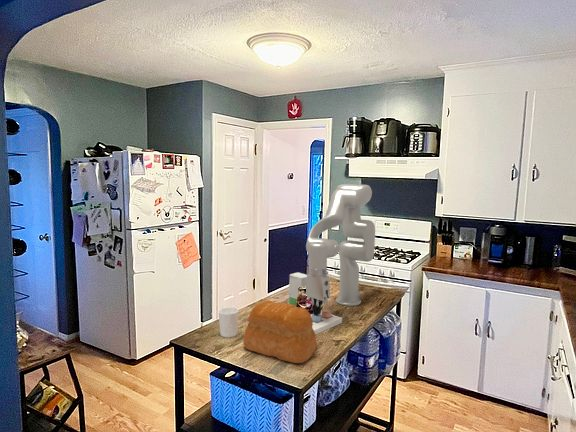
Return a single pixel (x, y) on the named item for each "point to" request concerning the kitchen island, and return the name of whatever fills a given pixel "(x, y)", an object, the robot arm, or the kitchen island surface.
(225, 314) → the white cup
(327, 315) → the rust button
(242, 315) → the kitchen island surface
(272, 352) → the bread
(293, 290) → the skincare box
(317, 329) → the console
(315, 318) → the slate button
